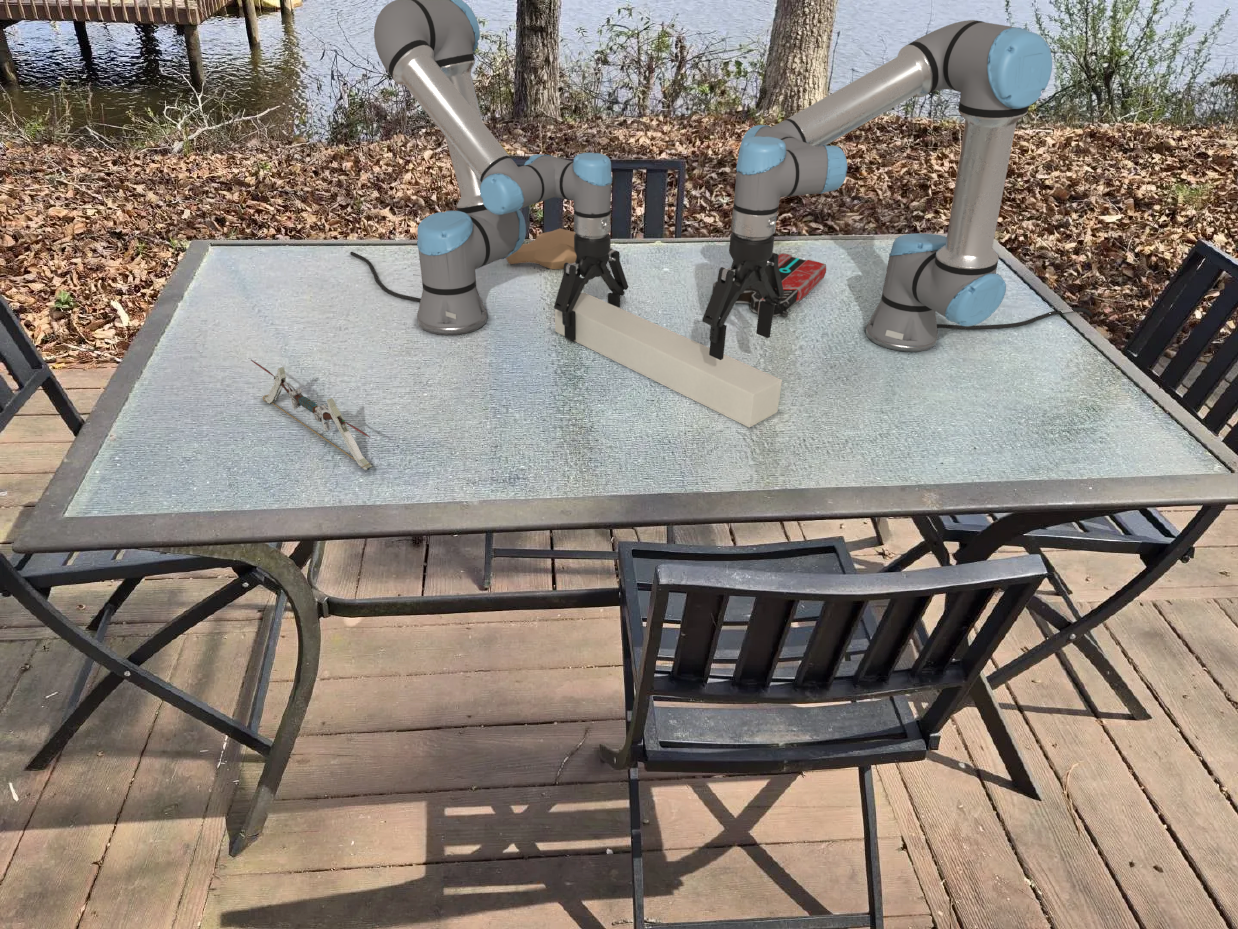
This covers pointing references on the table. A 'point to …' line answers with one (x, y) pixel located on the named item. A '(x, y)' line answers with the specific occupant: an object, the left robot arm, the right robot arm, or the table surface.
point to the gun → (787, 283)
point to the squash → (547, 250)
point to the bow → (316, 413)
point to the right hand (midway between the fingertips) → (740, 346)
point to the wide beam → (675, 361)
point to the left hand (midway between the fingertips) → (591, 330)
